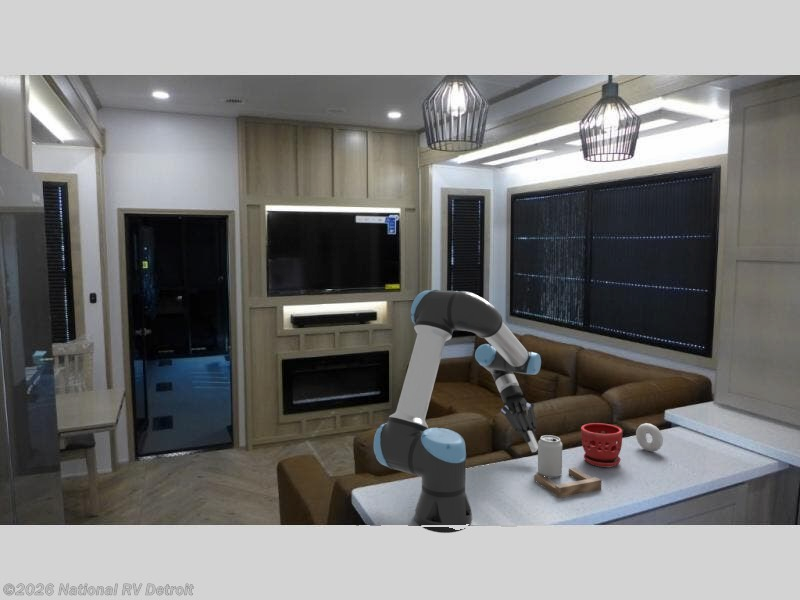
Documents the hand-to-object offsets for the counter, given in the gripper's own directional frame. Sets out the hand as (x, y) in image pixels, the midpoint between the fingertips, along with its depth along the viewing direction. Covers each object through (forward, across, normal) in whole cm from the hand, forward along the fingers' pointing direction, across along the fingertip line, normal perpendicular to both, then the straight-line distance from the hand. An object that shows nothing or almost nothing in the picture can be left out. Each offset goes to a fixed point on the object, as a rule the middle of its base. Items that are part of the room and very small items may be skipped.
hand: (535, 450), depth 177 cm
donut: (+7, -45, -1) cm, 45 cm away
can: (+9, 0, +2) cm, 9 cm away
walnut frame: (+15, 0, +8) cm, 17 cm away
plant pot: (+8, -22, 0) cm, 23 cm away
